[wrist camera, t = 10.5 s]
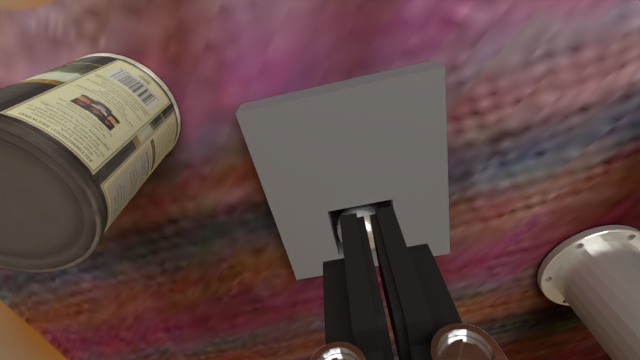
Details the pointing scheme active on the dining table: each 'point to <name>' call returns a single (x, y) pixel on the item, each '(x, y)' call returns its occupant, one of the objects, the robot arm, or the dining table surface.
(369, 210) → the steel ball
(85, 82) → the coffee can
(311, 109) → the hole board
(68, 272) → the dining table surface
